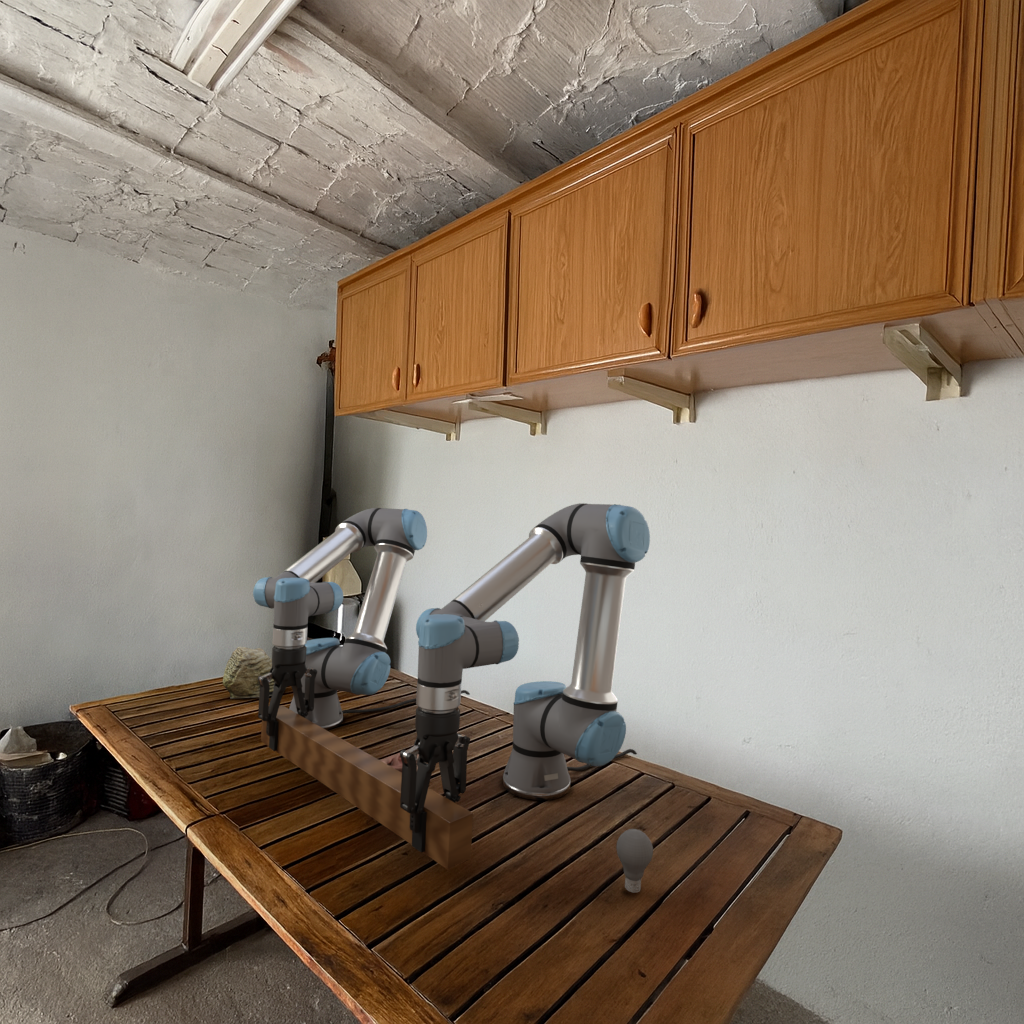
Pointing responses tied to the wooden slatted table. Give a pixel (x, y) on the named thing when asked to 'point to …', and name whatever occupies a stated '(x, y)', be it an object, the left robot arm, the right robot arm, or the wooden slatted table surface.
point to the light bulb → (634, 857)
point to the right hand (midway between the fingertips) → (431, 842)
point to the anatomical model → (395, 762)
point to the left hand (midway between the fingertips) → (285, 745)
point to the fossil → (246, 672)
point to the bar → (372, 786)
